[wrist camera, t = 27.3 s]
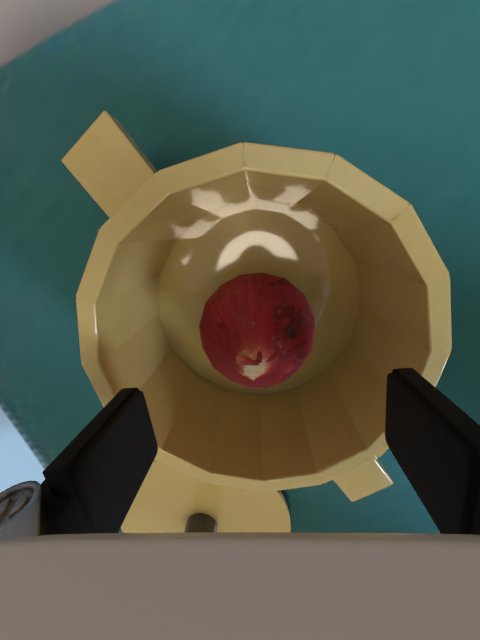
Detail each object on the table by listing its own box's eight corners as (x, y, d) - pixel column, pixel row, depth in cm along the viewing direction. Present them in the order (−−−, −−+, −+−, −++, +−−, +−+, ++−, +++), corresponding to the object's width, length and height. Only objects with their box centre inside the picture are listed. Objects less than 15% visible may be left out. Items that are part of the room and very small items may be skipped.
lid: (215, 412, 20) (200, 477, 15) (323, 529, 24) (342, 615, 18) (88, 491, 24) (40, 565, 19) (196, 582, 28) (181, 667, 22)
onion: (280, 248, 16) (301, 262, 8) (315, 329, 17) (359, 405, 10) (197, 288, 17) (148, 334, 9) (236, 361, 18) (221, 451, 11)
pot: (253, 78, 14) (249, -93, 6) (428, 357, 18) (542, 440, 11) (77, 253, 17) (-51, 268, 10) (258, 450, 21) (257, 559, 14)
